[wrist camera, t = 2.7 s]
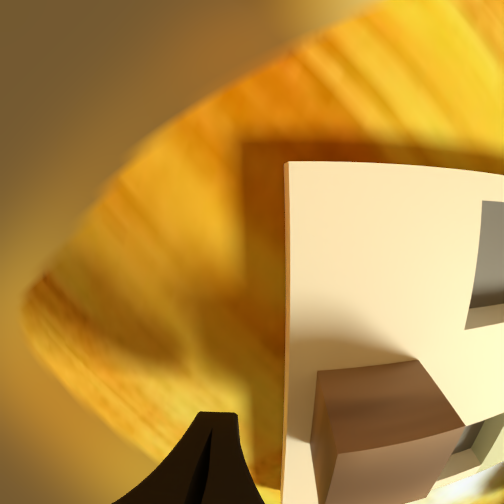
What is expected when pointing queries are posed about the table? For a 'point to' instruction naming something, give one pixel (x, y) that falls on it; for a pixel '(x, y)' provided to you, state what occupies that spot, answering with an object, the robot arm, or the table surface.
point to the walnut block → (380, 434)
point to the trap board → (394, 296)
